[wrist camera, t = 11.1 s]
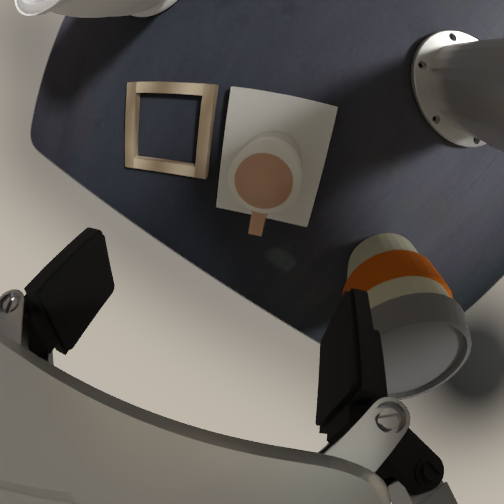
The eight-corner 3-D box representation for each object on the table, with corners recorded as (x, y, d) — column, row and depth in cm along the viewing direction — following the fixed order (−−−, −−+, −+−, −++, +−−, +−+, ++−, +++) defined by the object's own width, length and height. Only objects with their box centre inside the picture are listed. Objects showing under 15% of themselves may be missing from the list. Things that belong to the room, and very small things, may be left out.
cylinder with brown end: (249, 126, 25) (231, 139, 19) (307, 137, 25) (308, 155, 19) (237, 202, 30) (220, 235, 24) (289, 214, 30) (284, 250, 24)
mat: (336, 106, 23) (337, 107, 23) (307, 223, 31) (307, 227, 30) (233, 86, 24) (231, 86, 23) (218, 203, 31) (215, 207, 31)
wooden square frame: (218, 84, 24) (215, 85, 23) (208, 176, 30) (205, 179, 29) (132, 81, 25) (127, 82, 24) (129, 164, 30) (125, 167, 30)
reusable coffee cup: (313, 280, 35) (309, 386, 23) (371, 198, 28) (411, 294, 16) (388, 314, 36) (404, 409, 24) (446, 249, 29) (496, 342, 17)
